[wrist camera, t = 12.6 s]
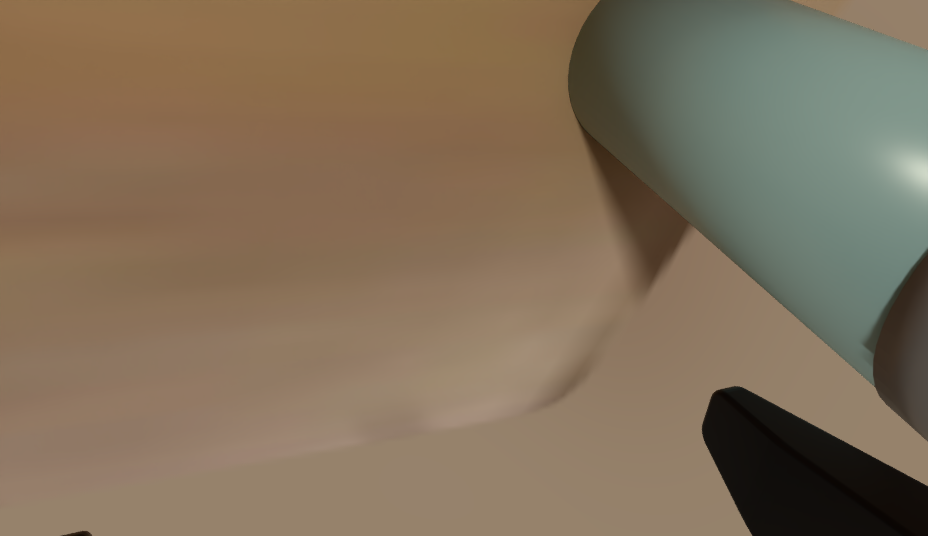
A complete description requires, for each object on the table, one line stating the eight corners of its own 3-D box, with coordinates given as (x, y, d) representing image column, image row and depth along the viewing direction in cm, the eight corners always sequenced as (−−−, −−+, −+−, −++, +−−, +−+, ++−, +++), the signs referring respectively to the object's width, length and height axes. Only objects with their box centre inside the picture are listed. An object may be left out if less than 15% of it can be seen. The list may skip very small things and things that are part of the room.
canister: (536, 131, 22) (860, 461, 12) (617, -70, 20) (1147, 112, 9) (682, 165, 25) (1059, 460, 14) (772, -8, 22) (1328, 192, 11)
